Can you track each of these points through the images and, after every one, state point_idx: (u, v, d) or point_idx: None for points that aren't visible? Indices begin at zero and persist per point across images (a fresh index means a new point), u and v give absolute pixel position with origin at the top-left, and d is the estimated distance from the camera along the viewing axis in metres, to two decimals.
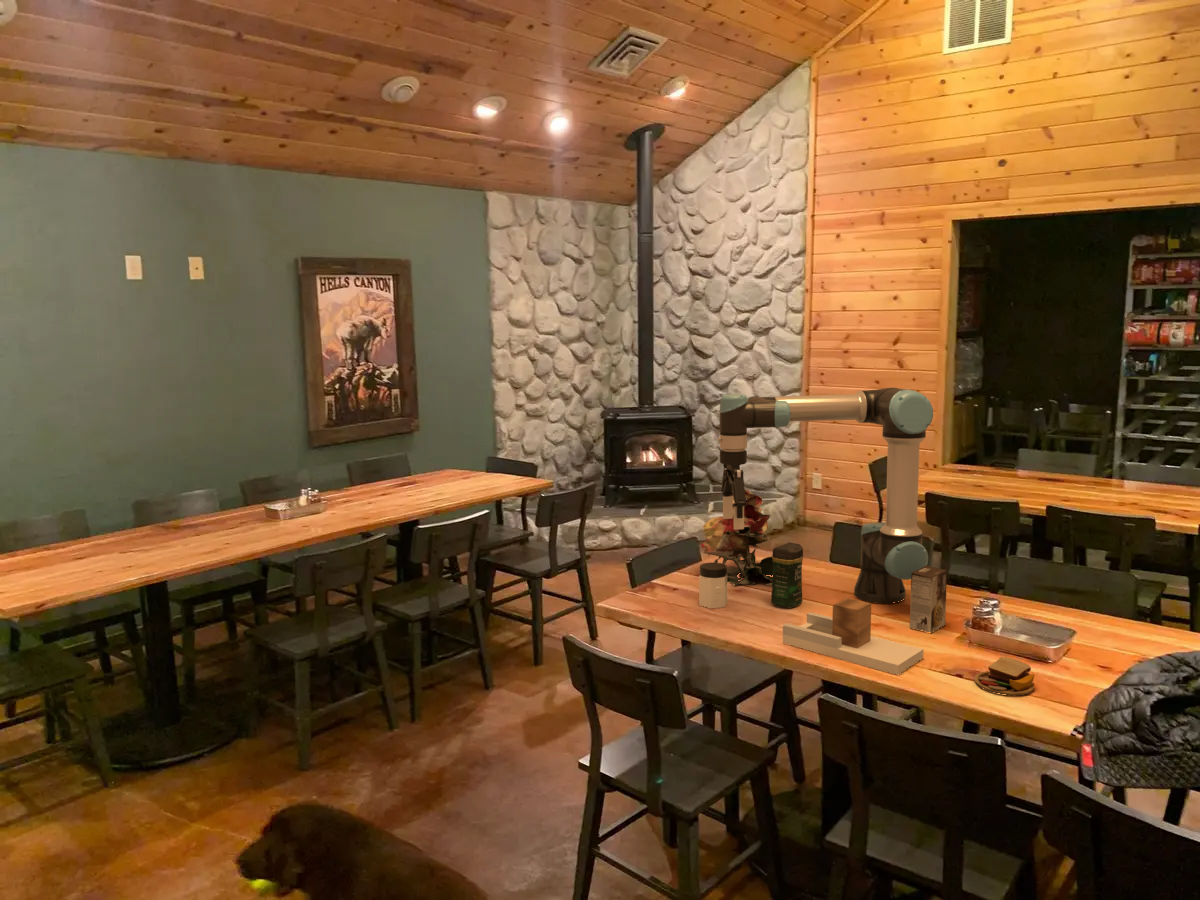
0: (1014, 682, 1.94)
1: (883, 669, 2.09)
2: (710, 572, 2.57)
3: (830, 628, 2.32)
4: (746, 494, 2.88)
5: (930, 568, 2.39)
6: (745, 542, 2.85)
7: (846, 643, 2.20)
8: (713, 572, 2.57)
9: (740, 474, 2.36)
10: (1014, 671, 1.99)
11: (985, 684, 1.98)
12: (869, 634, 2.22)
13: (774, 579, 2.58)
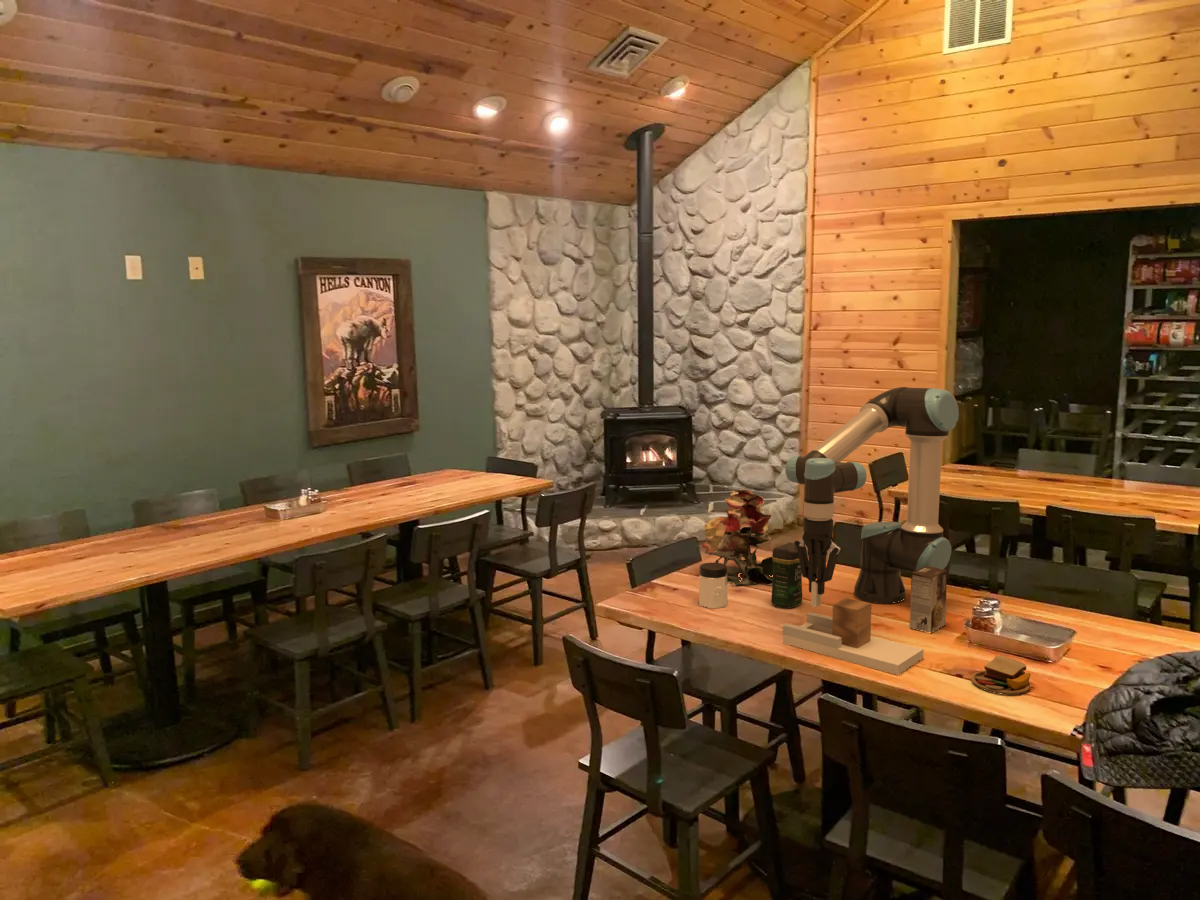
0: (1011, 681, 1.95)
1: (883, 669, 2.09)
2: (710, 572, 2.57)
3: (830, 628, 2.32)
4: (747, 494, 2.88)
5: (930, 568, 2.39)
6: (746, 542, 2.84)
7: (846, 643, 2.20)
8: (713, 572, 2.57)
9: None
10: (1010, 670, 1.99)
11: (982, 683, 1.98)
12: (869, 634, 2.22)
13: (774, 579, 2.58)
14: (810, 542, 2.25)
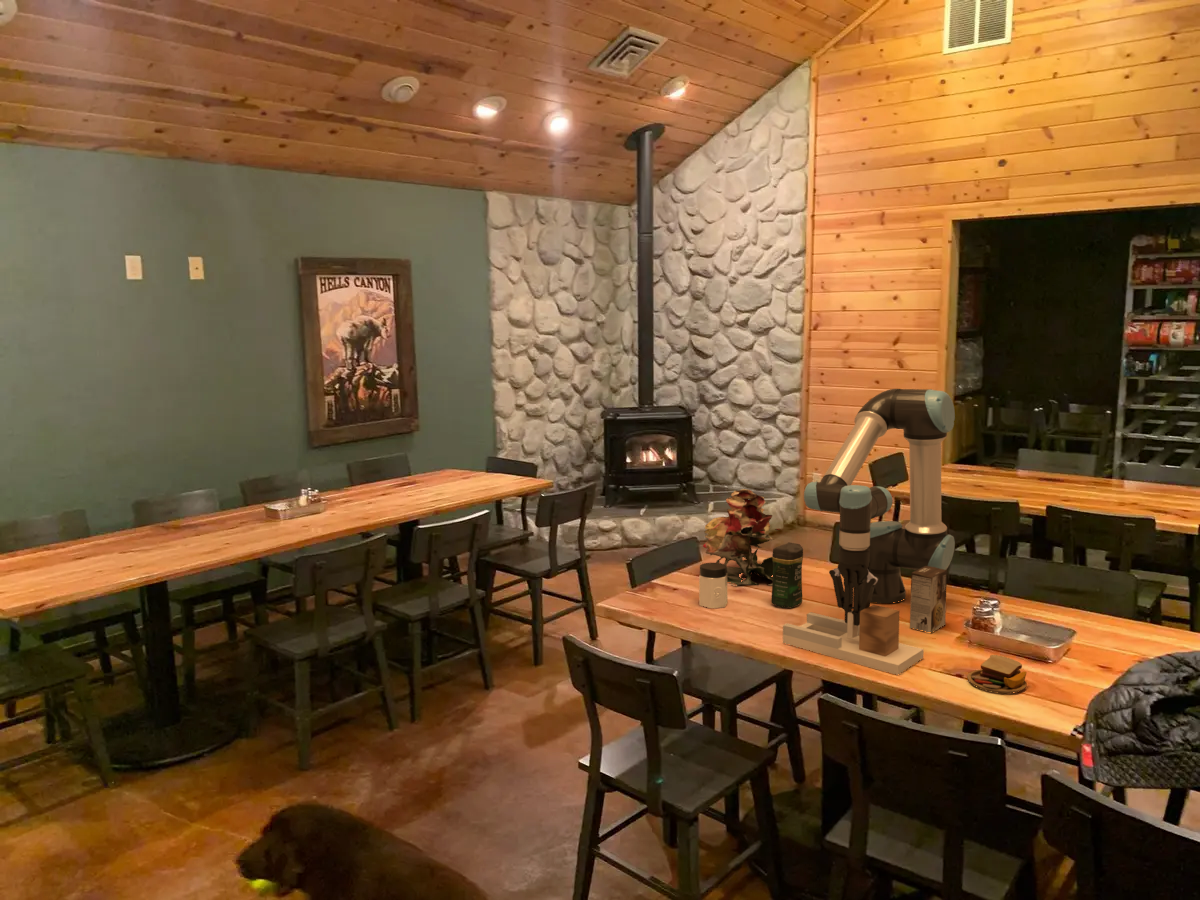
0: (1008, 680, 1.95)
1: (883, 669, 2.09)
2: (710, 572, 2.57)
3: (830, 628, 2.32)
4: (748, 494, 2.88)
5: (930, 568, 2.39)
6: (747, 542, 2.84)
7: (874, 651, 2.14)
8: (713, 572, 2.57)
9: None
10: (1007, 669, 2.00)
11: (979, 683, 1.98)
12: (897, 642, 2.16)
13: (774, 579, 2.58)
14: (846, 572, 2.19)
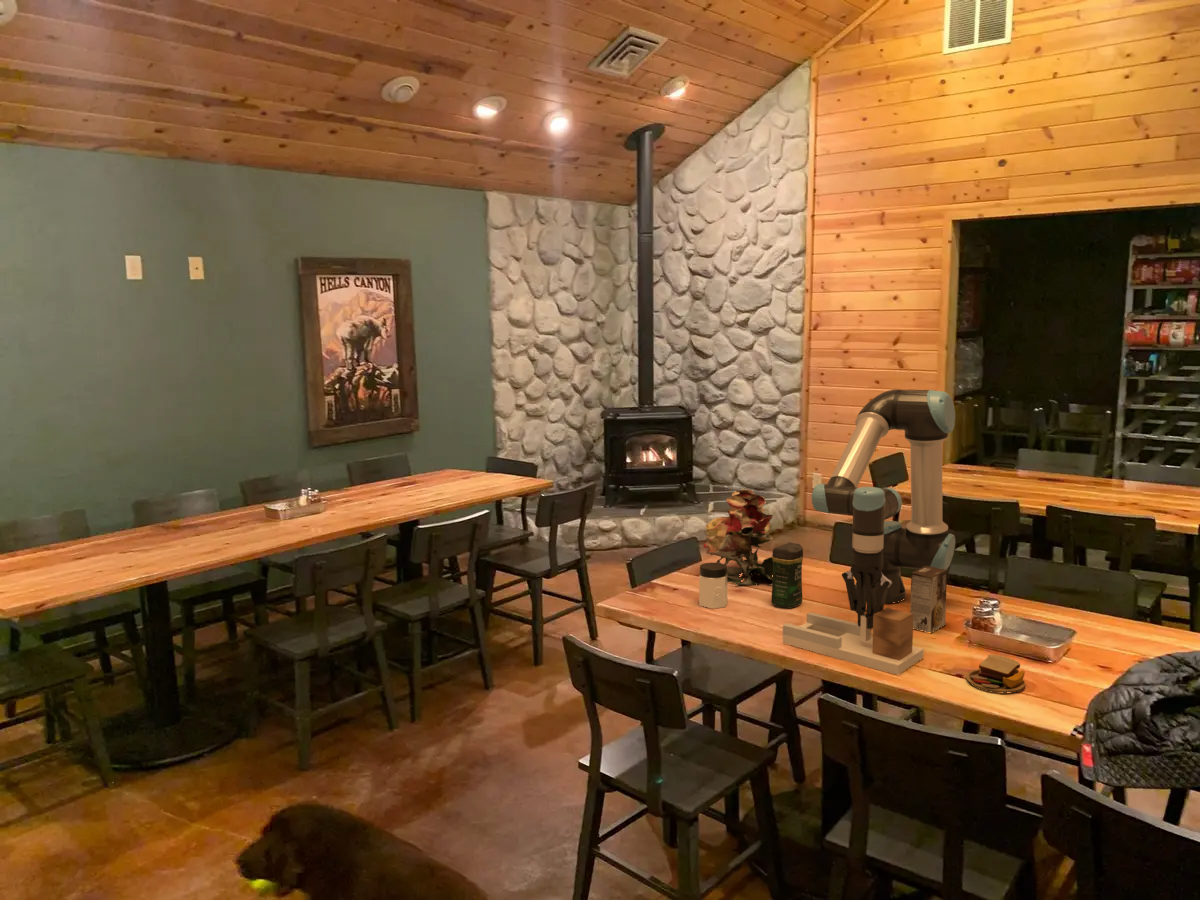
0: (1007, 680, 1.95)
1: (883, 669, 2.09)
2: (710, 572, 2.57)
3: (830, 628, 2.32)
4: (748, 494, 2.88)
5: (930, 568, 2.39)
6: (748, 542, 2.84)
7: (887, 655, 2.11)
8: (713, 572, 2.57)
9: None
10: (1005, 669, 2.00)
11: (978, 682, 1.99)
12: (911, 645, 2.14)
13: (774, 579, 2.58)
14: (859, 575, 2.17)
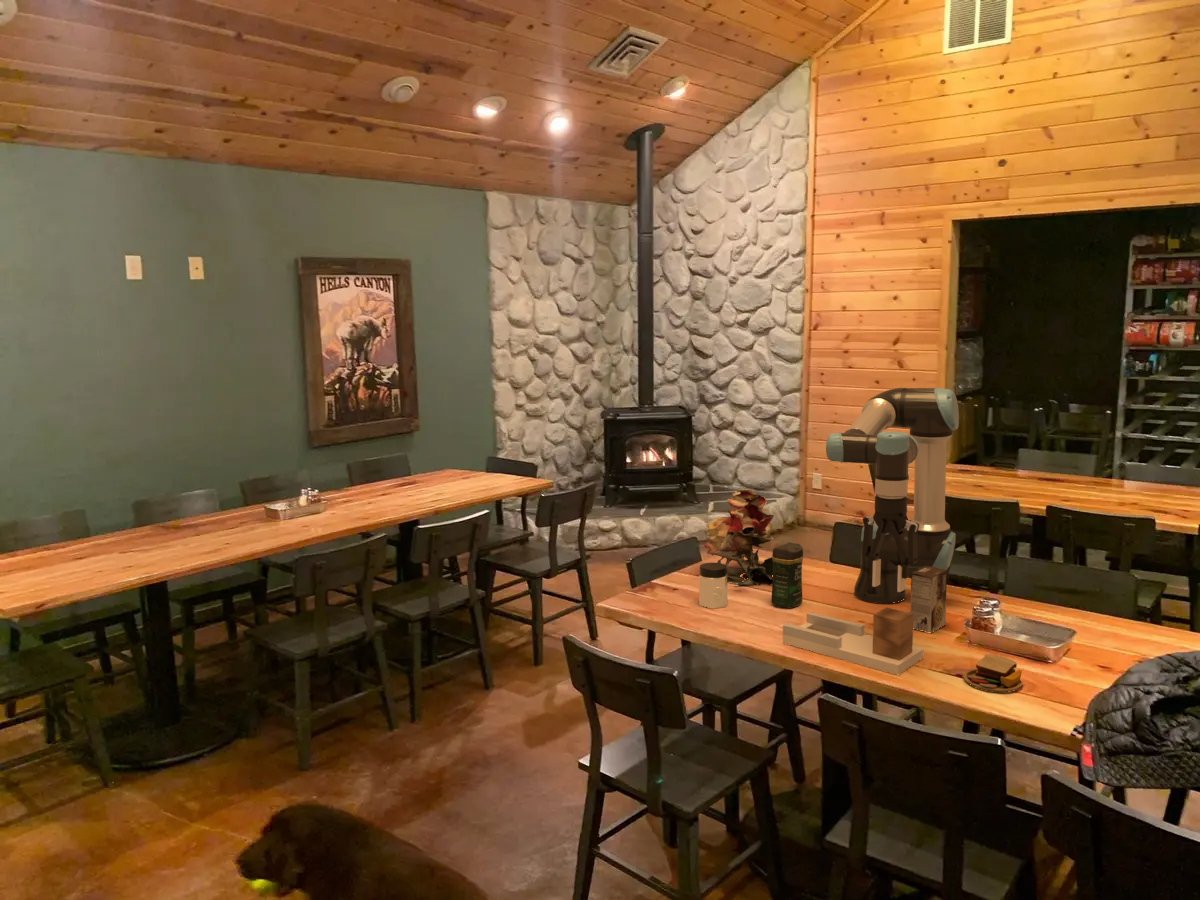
0: (1005, 679, 1.96)
1: (883, 669, 2.09)
2: (710, 572, 2.57)
3: (830, 628, 2.32)
4: (749, 494, 2.87)
5: (930, 568, 2.39)
6: (749, 542, 2.84)
7: (887, 655, 2.11)
8: (713, 572, 2.57)
9: None
10: (1002, 668, 2.01)
11: (976, 682, 1.99)
12: (911, 645, 2.14)
13: (774, 579, 2.58)
14: (882, 522, 2.10)
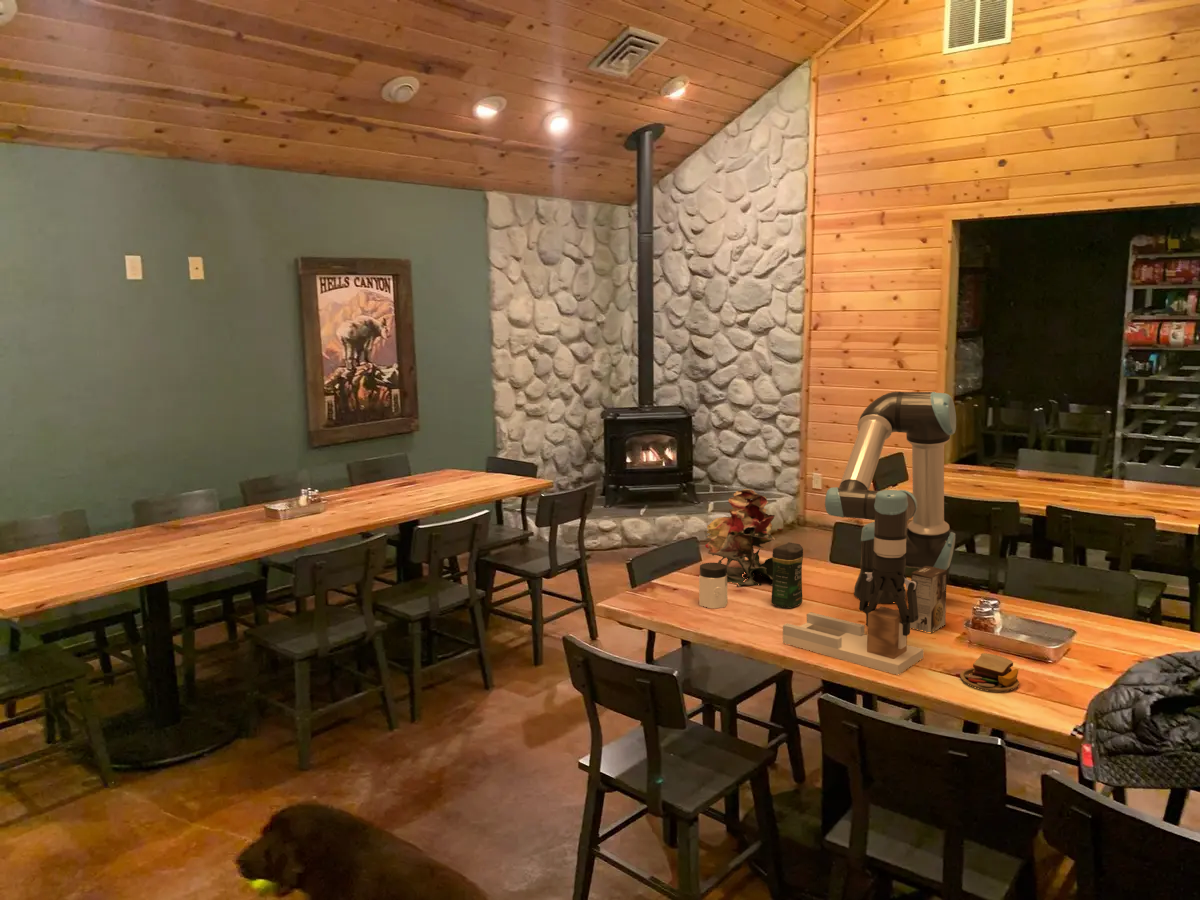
0: (1003, 678, 1.96)
1: (883, 669, 2.09)
2: (710, 572, 2.57)
3: (830, 628, 2.32)
4: (750, 494, 2.87)
5: (930, 568, 2.39)
6: (750, 542, 2.84)
7: (882, 653, 2.12)
8: (713, 572, 2.57)
9: None
10: (999, 667, 2.01)
11: (973, 682, 1.99)
12: None
13: (774, 579, 2.58)
14: (881, 580, 2.12)
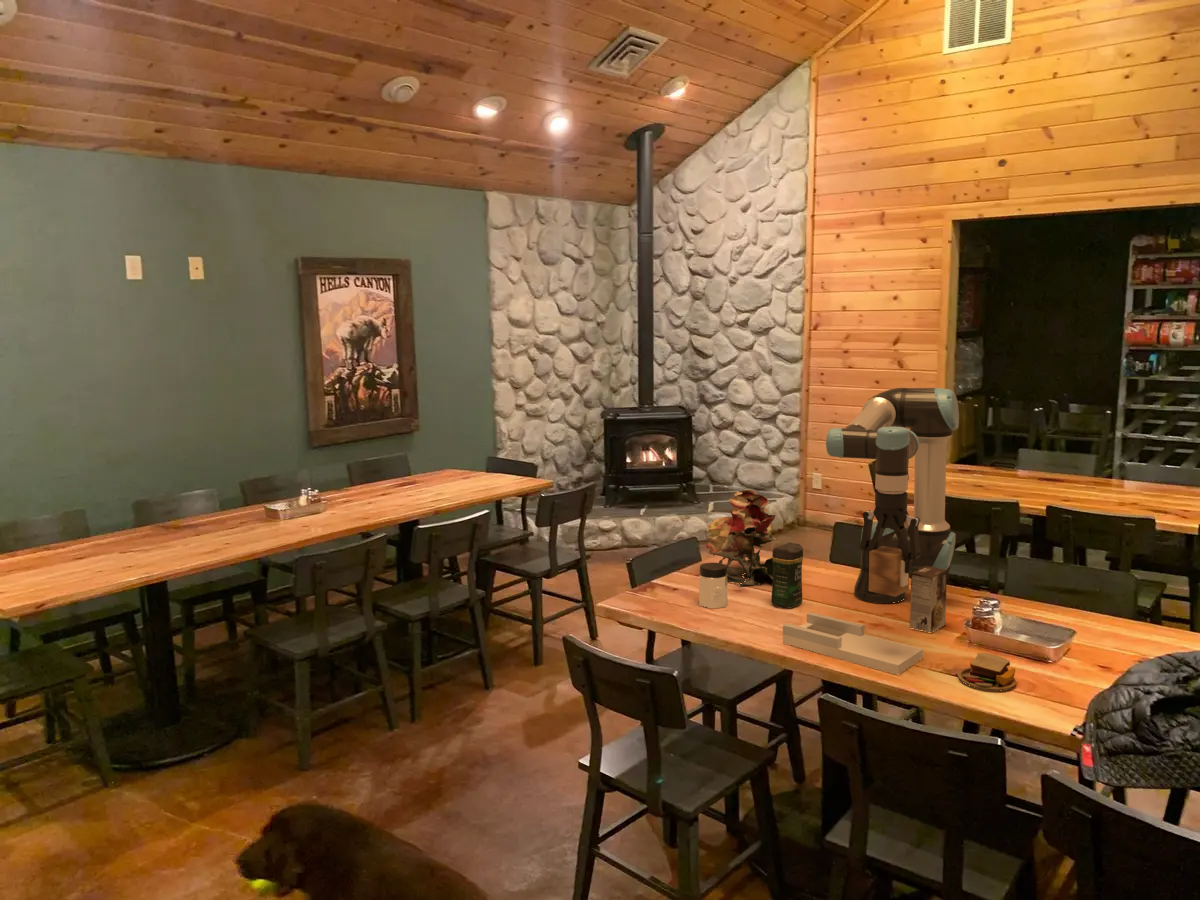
0: (1000, 678, 1.97)
1: (883, 669, 2.09)
2: (710, 572, 2.57)
3: (830, 628, 2.32)
4: (751, 494, 2.87)
5: (930, 568, 2.39)
6: (750, 542, 2.84)
7: (884, 592, 2.10)
8: (713, 572, 2.57)
9: None
10: (996, 667, 2.02)
11: (971, 681, 1.99)
12: None
13: (774, 579, 2.58)
14: (883, 517, 2.10)
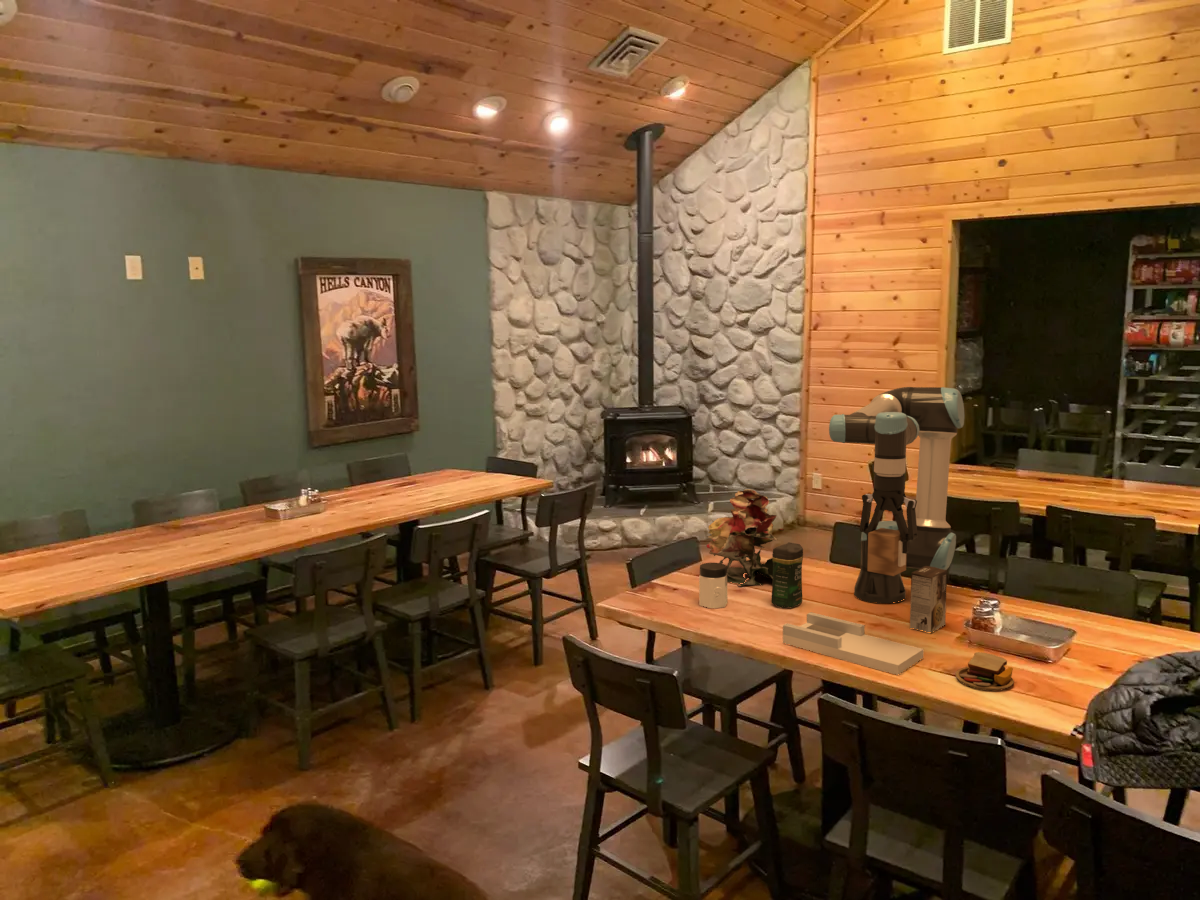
0: (998, 677, 1.97)
1: (883, 669, 2.09)
2: (710, 572, 2.57)
3: (830, 628, 2.32)
4: (752, 494, 2.87)
5: (930, 568, 2.39)
6: (751, 542, 2.84)
7: (882, 571, 2.18)
8: (713, 572, 2.57)
9: None
10: (994, 666, 2.02)
11: (969, 681, 2.00)
12: None
13: (774, 579, 2.58)
14: (881, 500, 2.18)
